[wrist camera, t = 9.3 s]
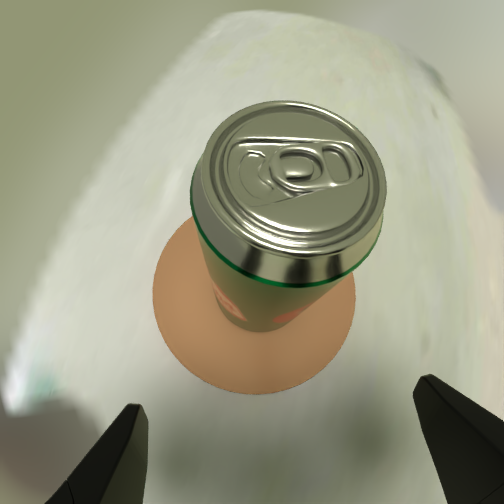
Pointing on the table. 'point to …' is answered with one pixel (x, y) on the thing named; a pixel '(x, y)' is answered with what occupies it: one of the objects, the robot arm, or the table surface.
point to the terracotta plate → (235, 338)
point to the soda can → (284, 209)
